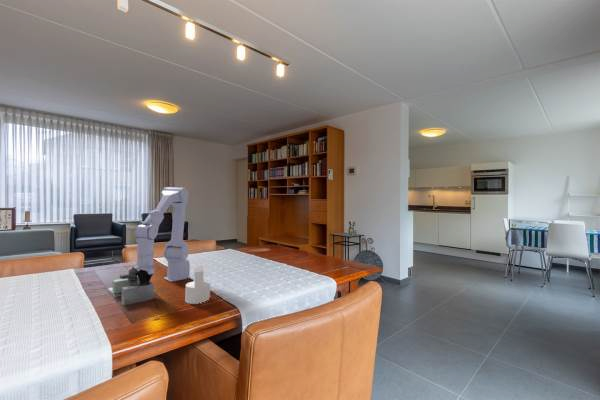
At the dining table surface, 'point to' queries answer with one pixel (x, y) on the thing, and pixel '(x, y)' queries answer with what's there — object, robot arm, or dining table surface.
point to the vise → (135, 293)
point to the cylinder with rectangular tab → (197, 288)
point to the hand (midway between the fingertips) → (144, 288)
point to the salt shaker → (132, 277)
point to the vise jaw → (121, 283)
